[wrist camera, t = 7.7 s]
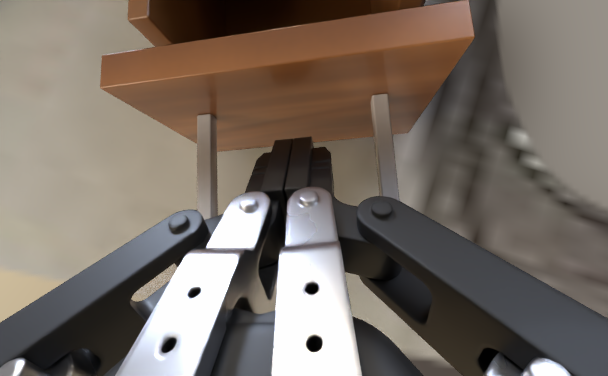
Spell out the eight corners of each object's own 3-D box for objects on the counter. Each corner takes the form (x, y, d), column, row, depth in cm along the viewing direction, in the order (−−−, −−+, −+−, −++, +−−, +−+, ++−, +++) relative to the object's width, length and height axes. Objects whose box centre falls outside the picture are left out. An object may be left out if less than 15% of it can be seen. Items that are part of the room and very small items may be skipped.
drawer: (421, 241, 14) (512, 256, 7) (212, 251, 16) (88, 273, 8) (383, -76, 17) (417, -320, 9) (210, -42, 19) (117, -231, 11)
